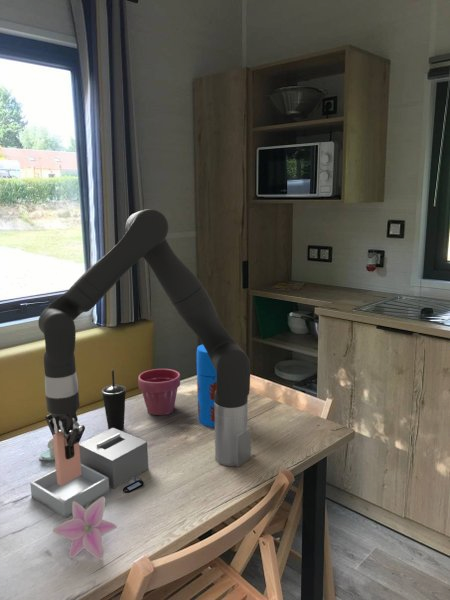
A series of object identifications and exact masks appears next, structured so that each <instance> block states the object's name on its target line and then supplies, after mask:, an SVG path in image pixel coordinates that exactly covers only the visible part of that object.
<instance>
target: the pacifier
mask: <svg viewBox="0 0 450 600" xmlns="http://www.w3.org/2000/svg"><path fill="white" fill-rule="evenodd" d="M47 448H48V449H49V450H46V451H44V452H41V453H40V455H39V457H38V459H39V460H41V461H48V462H49V461H55V454H54V443H53V438H51V439H50V440H49V441H48V443H47Z"/></svg>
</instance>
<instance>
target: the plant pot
mask: <svg viewBox="0 0 450 600" xmlns="http://www.w3.org/2000/svg"><path fill="white" fill-rule="evenodd" d="M137 381H138V388H139V389H140V391H141V393H142V396H143V400H144V404H145V407H146V410H147V412H148V413H149V414H150V415H153V416H154V415H155V416H163V415H164V416H165V415H168V414H171V413H172V412H174V409H175V404H176V399H177V395H178V388H180V386H181V374H180V372H179V371H177V370H175V369H172V368H171V369H170V368H155V369H149V370H146V371H145V370H144V371H143V372H141V373H140V374H139V375H138V380H137Z"/></svg>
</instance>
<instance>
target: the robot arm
mask: <svg viewBox="0 0 450 600" xmlns="http://www.w3.org/2000/svg"><path fill="white" fill-rule="evenodd" d="M124 228H125V234H124V235H123V237H121V239H120V240H119V241H118V242H117V243H116V244H115V246H113V248H111V249H110V250H109V251H108V252H107V253H106V254H105V255H103V256H102V257H101V258H99V259H98V260H97V261H96V262H95V263H94V264H93V265H91V266H90V267H89V268H88V269H87V270H85V272H84V273H82V275H81V276H80V277H79V278H78V279H77V280H76V281H75V282H74V283H73V284H72V286H71V287H70V288H69V289H68V290H66V292H64V293H63V294H62V295H60V296H59V297H57V298H56V299H55V300H53V301H52V302H51V303H50V304H48V306H47V307H45V308H44V310H43V311H42V312H41V313H40V315H39V317H38V328H39V330H40V331H41V332H42V333H43V336H44V342H45V343H44V344H45V352H44V353H43V367H44V368H43V370H44V390H45V391H44V392H45V401H46V411H47V413H48V415H45V421H46V423H47V425H48V428H49V430H50V433H51V435H52V437H53V435H54V434H56V433H58V432H61V435H62V437H64V445H65V456H66V459H70V458H72V457H74V454H75V453H74V444H76V443H78V442H79V443H81V442H80V441H81V439H82V437H83V434H84V432H85V431H86V426H85V425H84V424H82V425H80V424H79V423H78V421H79V419H78V415H77V411H78V409H79V408H80V405H81V404H80V393H79V381H78V375H77V370H76V359H75V350H76V339H77V337H76V336H77V335H76V334H77V333H76V324H75V320H76V319H77V318H78V317H79V316H80V315H81V314H82V313H88V312H89V311H91V310H92V309H93V308H94V307H95V306H96V305H97V304H98V303H99V302H100V301H101V300H102V299H103V298H104V297H105V296H106V294H107V293H108V292H109V291H110V290H111V289H112V288H113V286H115V285H116V283H117V282H118V281H119V280H120V279H121V278H122V277H123V276H124V275H125V274H126V272H128V271H129V269H131V268H132V267H133V266H134V265H135V264H136V263H138V261H139V260H140V259H142V258H143V259H144V260H145V262H146V263H147V264H148V266H149V267H150V269H151V270H152V272H153V274H154V275H155V278H156V279H157V281H158V282H159V285H160V286H161V287H162V289H163V291H164V292H165V294H166V296H167V297H168V299H169V301H170V302H171V304H172V305H173V307H174V309H175V310H176V311H177V313H178V314H179V316H180V318H182V320H183V321H184V323H185V324H187V326H188V327H189V329H191V330H192V332H194V334H195V335H196V336H197V337H198V338H199V340H200V342H201V344H202V345H204V347H205V349H206V351H207V353H208V355H209V357H210V359H211V362H212V364H213V366H214V368H215V370H216V375H217V388H216V391H215V393H214V408H215V427H214V450H215V451H214V455H215V456H214V457H215V458H214V459H215V461H216V462H217V463H218V464H220V465H223V466H226V467H227V466H229V467H236V468H239V467H240V466H242V465H243V464H244V463H246V462H247V461H249V460H250V459H251V457H252V456H251V450H252V449H251V448H252V447H251V446H252V445H251V444H252V443H251V442H252V439H251V437H252V436H251V434H252V433H251V432H252V431H251V429H252V428H251V427H250V426H248V421H249V418H248V417H249V416H248V412H249V411H248V408H249V407H248V404H249V403H248V401H249V400H248V399H249V397H248V396H249V394H250V388H251V363H250V358H249V356H248V354H247V353H246V352H245V351H244V350H243V349H242V348H241V346H240V345H239V344H238V343H237V342H236V341H235V340H234V339H233V337H232V336H231V335H230V334H229V332H228V331H227V329H226V328H225V327H224V325H223V324H222V322H221V319H220V317H219V314H218V312H217V310H216V308H215V305H214V303H213V301H212V299H211V297H210V295H209V293H208V292H207V290H206V289H205V287H204V286H203V283H202V282H201V281H200V279H199V278H198V277H197V276H196V274H195V273H194V271H192V270H191V269H190V268H189V266H187V265H186V264H185V263H184V262H183V261H182V260H181V259H180V258H179V257H178V256H177V254H175V252H174V251H173V249H172V247H171V246H170V244H169V242H168V240H167V239H166V238H167V236H168V233H169V222H168V220H167V217H166V216H165V215H164V214H163V213H162V212H161V211H159V210H157V209H153V208H149V209H147V208H146V209H142V210H139V211H136V212H134V213H132V214H131V215H130V216H129V217H127V220H126V223H125V227H124ZM69 436H71V437H70V439H69V440H68V437H69Z"/></svg>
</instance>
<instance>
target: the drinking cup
mask: <svg viewBox="0 0 450 600" xmlns="http://www.w3.org/2000/svg"><path fill="white" fill-rule="evenodd" d="M114 370H115V369H111V383H112V384H110V385H107V386H104V387H103V388H102V389H101V394H102V399H103V406H104V411H105V417H106V424H107V430H109V429H111V428H115V429H118V430H120V431H122V432H124V428H125V412H126V411H125V410H126V408H125V407H126V393H127V392H126V391H127V387H126V386H124V385H121V384H116V383H115V371H114Z"/></svg>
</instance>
